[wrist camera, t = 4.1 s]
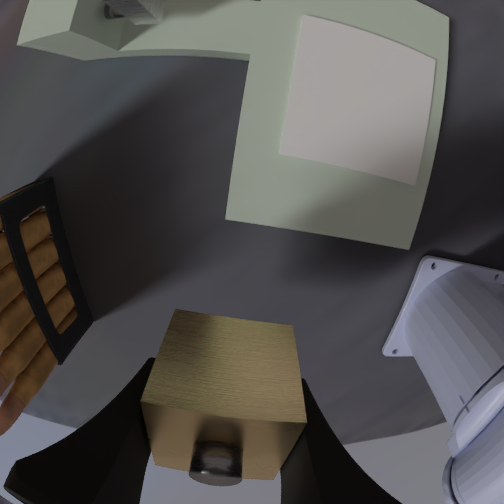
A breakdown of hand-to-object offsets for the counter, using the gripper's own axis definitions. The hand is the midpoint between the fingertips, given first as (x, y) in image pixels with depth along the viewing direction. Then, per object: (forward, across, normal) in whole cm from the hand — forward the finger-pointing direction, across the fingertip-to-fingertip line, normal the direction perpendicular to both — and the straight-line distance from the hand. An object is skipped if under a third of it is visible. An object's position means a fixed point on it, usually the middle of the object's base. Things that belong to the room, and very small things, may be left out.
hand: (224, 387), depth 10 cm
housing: (+2, 0, 0) cm, 2 cm away
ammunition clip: (+8, +12, 0) cm, 14 cm away
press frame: (+8, +1, -12) cm, 14 cm away
